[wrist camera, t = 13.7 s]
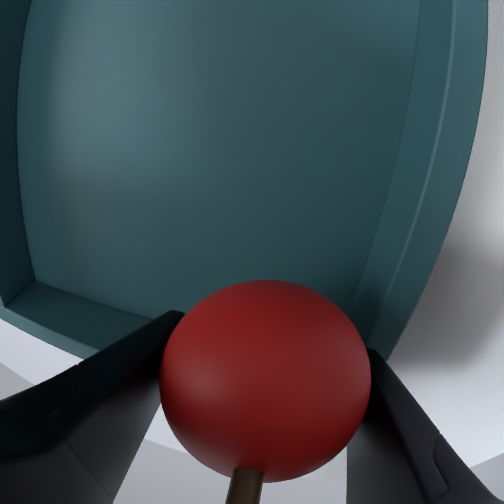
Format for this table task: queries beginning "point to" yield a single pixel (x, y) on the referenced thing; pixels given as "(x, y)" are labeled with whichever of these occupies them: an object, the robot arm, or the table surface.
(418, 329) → the table surface
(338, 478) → the table surface
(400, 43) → the tray
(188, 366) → the apple
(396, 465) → the robot arm
